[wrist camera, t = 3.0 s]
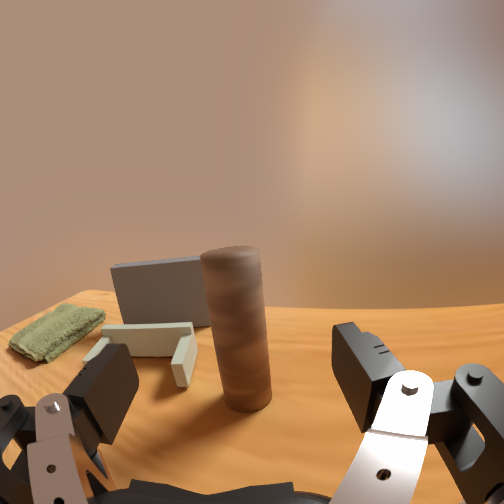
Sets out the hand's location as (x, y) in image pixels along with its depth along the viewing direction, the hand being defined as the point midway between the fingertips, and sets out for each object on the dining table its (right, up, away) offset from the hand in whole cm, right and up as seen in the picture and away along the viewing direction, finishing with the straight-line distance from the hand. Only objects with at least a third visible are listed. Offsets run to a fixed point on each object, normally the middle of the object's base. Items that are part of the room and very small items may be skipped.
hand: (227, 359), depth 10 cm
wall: (-12, -7, +30) cm, 33 cm away
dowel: (+1, -10, +14) cm, 17 cm away
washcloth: (-32, -11, +26) cm, 43 cm away
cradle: (-12, -9, +19) cm, 24 cm away
